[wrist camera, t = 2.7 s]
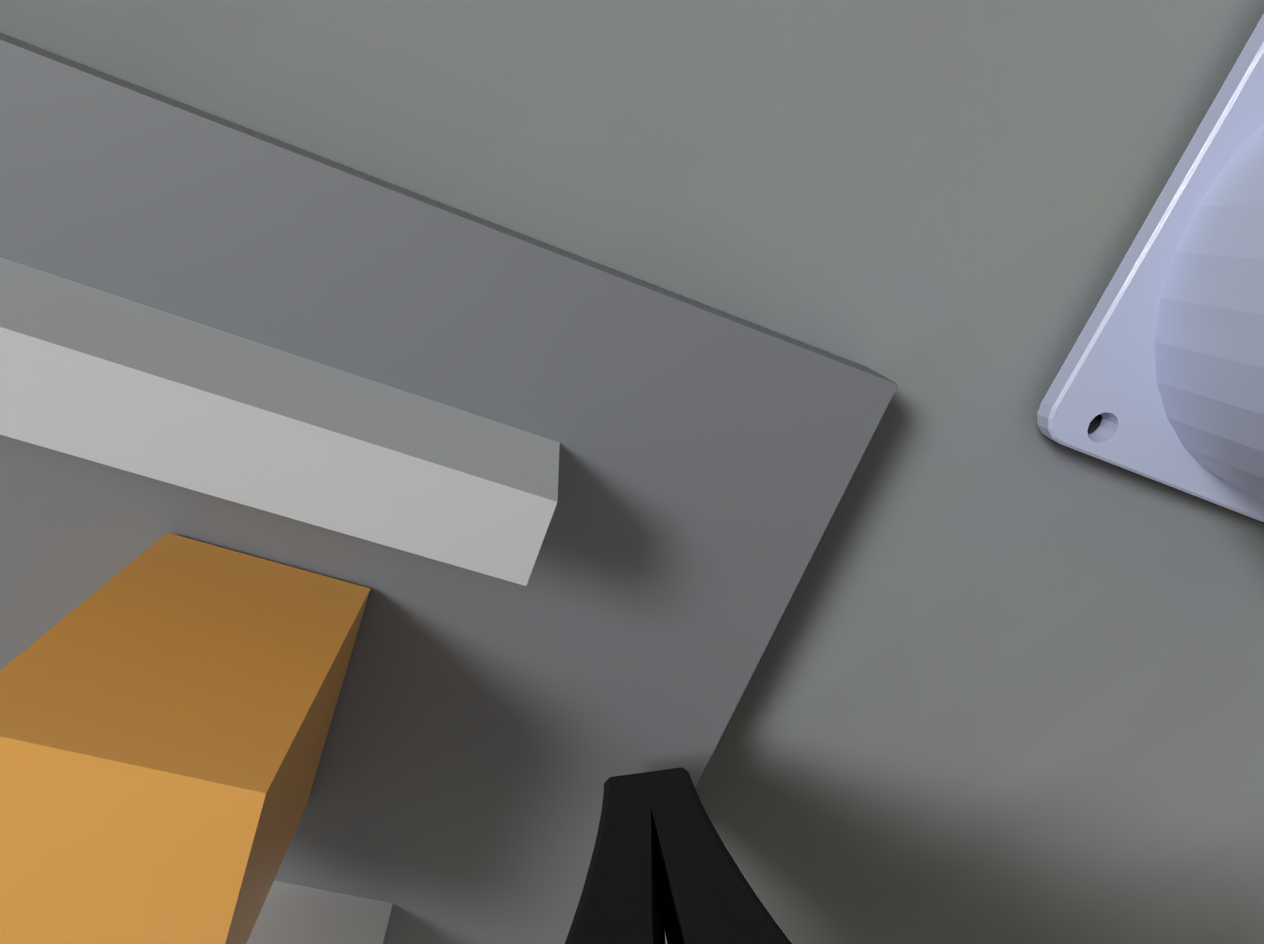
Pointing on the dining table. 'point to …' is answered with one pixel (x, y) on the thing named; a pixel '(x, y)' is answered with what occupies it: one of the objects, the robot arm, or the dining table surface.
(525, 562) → the grey tray
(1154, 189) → the dining table surface
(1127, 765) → the dining table surface
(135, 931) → the block
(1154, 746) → the dining table surface
